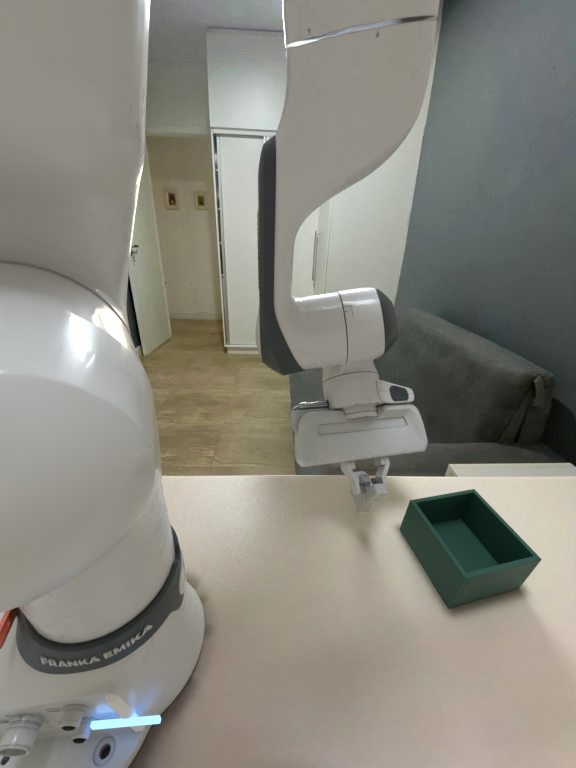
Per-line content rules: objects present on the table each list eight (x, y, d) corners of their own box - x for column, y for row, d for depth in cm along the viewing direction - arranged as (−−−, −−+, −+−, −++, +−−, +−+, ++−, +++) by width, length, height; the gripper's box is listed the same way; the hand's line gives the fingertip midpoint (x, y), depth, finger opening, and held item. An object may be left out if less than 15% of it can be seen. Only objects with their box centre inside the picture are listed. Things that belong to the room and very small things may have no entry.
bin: (448, 608, 38) (465, 579, 35) (399, 528, 48) (409, 500, 44) (519, 588, 41) (542, 559, 38) (460, 516, 50) (474, 488, 47)
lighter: (349, 491, 50) (357, 453, 46) (359, 490, 50) (368, 452, 46) (366, 530, 44) (377, 491, 40) (377, 529, 44) (389, 490, 40)
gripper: (293, 398, 42) (307, 505, 39) (422, 389, 47) (444, 483, 44) (284, 407, 48) (295, 501, 45) (399, 398, 53) (417, 481, 50)
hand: (370, 492), depth 44 cm, fingers closed on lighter, 2 cm apart
